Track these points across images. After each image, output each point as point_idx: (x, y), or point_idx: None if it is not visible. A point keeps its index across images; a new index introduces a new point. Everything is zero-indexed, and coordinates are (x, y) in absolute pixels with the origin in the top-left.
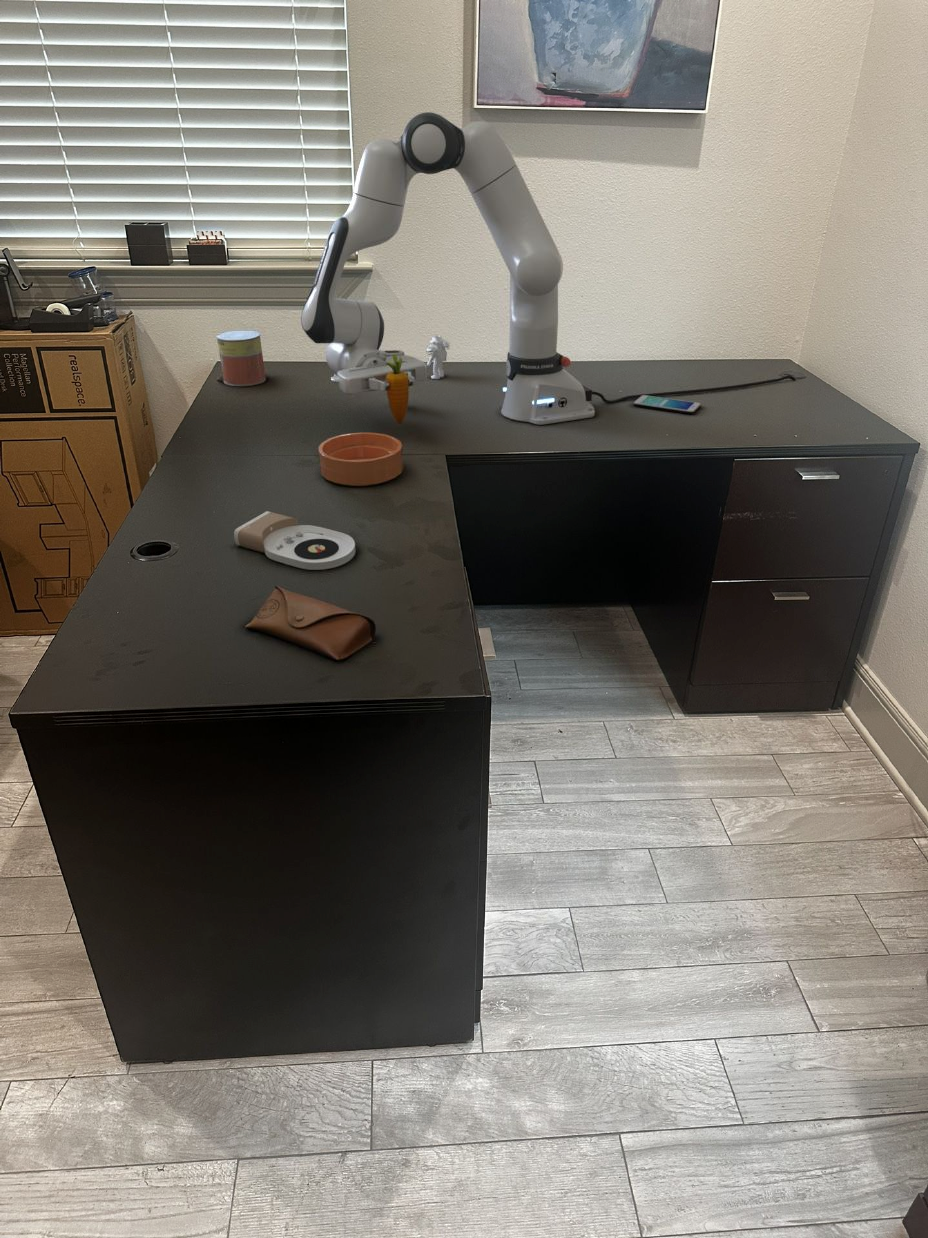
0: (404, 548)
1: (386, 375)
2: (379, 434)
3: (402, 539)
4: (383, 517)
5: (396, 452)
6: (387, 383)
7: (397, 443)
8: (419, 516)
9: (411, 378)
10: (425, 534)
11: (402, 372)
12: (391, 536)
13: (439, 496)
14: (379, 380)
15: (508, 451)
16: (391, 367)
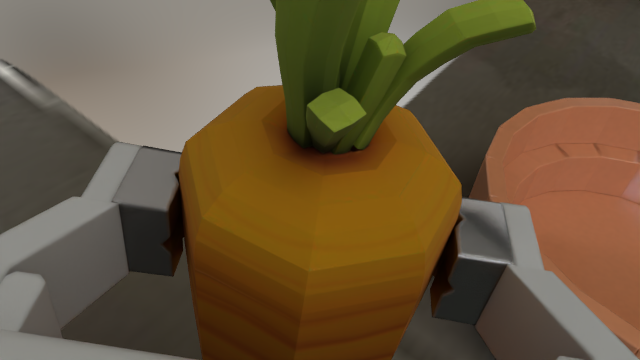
0: (620, 7)
1: (428, 245)
2: (548, 263)
3: (614, 21)
4: (629, 76)
5: (548, 102)
6: (467, 199)
7: (507, 148)
8: (547, 44)
9: (157, 149)
10: (565, 11)
11: (263, 107)
12: (632, 34)
13: (456, 66)
14: (529, 289)
15: (38, 110)
16: (430, 64)
